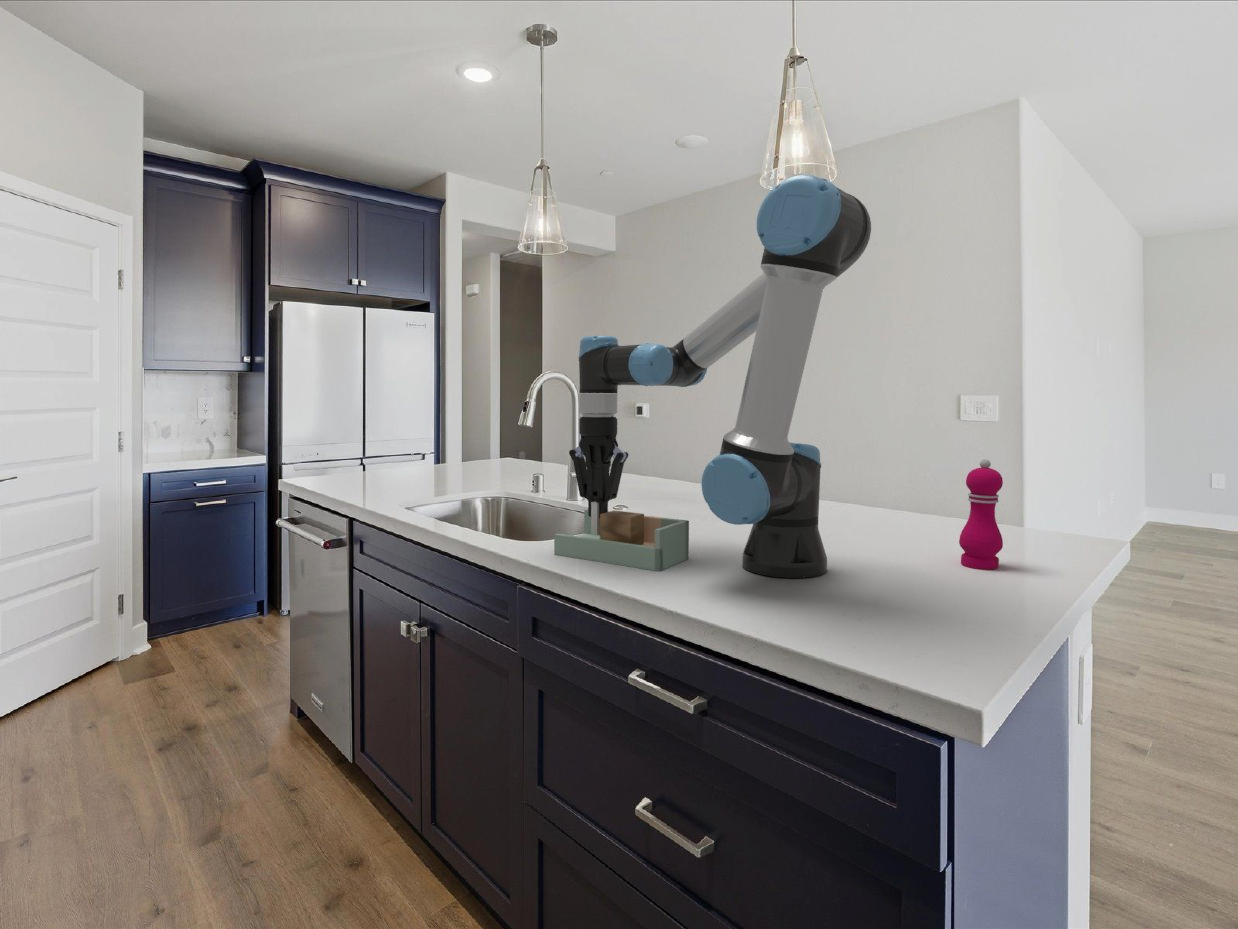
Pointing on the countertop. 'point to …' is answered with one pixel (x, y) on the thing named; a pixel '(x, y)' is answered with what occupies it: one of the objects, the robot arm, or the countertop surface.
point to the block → (622, 527)
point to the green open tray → (631, 545)
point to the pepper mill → (982, 519)
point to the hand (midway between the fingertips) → (597, 533)
